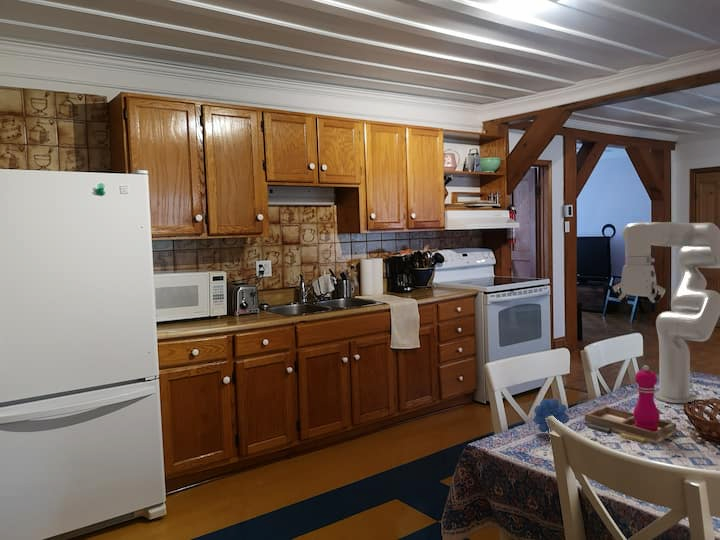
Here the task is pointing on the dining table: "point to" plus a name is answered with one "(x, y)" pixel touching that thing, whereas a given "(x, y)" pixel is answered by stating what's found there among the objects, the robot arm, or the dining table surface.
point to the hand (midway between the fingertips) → (638, 312)
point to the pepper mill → (646, 400)
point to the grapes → (549, 413)
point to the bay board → (627, 425)
